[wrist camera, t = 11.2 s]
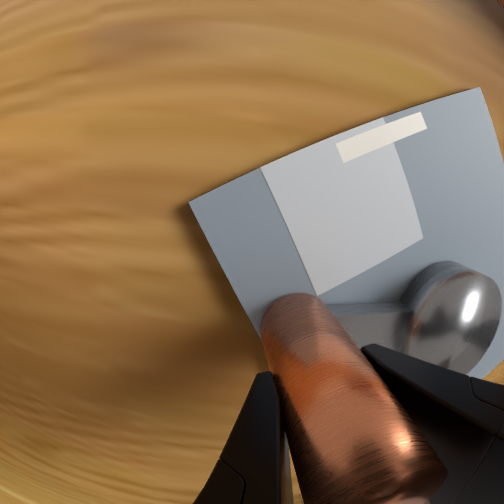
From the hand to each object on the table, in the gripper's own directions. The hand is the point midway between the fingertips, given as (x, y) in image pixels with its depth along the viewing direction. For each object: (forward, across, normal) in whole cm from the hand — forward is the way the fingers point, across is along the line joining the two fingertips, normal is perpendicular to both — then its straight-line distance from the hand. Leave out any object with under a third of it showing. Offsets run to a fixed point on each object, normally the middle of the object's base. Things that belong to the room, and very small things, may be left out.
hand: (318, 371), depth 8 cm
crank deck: (+4, -6, +2) cm, 7 cm away
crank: (+3, -6, +2) cm, 7 cm away
